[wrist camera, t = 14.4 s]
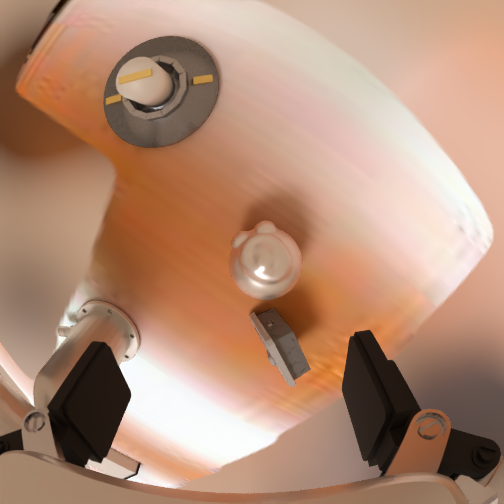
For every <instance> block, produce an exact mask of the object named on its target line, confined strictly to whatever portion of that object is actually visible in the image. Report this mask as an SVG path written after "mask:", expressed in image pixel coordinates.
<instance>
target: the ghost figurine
mask: <svg viewBox="0 0 504 504" xmlns="http://www.w3.org/2000/svg"><path fill="white" fill-rule="evenodd" d="M231 247H232V250H231V253H230V257H229V270H230V274H231V277H232V279H233V281H234V283H235V284H236V286H237V287H238V288H239V289H240V290H241V291H242V292H244V293H245V294H246V295H248V296H250V297H253V298H256V299H260V300H271V299H276V298H279V297H281V296H283V295H285V294H286V293H288V292H289V291H290V290H291V289H292V288H293V287H294V286H295V284H296V283H297V281H298V279H299V277H300V274H301V271H302V256H301V252H300V249H299V247H298V245H297V243H296V242H295V241H294V239H293V238H292V237H291V236H290V235H288V234H287V233H286V232H284V231H282V230H280V229H278V228H276V226H275V225H274V224H273V223H272V222H270V221H261V222H259V223H258V224H257V225H256V226H255V228H254V229H252V230H250V231H240V232H238V233H236V234H235V235H234V236H233V238H232V240H231Z"/></svg>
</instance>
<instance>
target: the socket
mask: <svg viewBox="0 0 504 504" xmlns="http://www.w3.org/2000/svg"><path fill="white" fill-rule="evenodd" d="M136 57H147V58H150V59H152V60H153V61H154V62H155V63H156V64H158V65H159V66H160V67H161V68H162V69H163V70H164V71H166V72H167V73H168V74H169V75H170V76H171V77H172V78H173V79H174V82H175V92H174V95H173V97H172V98H171V99H170V101H169V102H167V103H166V104H165V105H163V106H160V107H156V108H152V107H148V106H146V105H143V104H141V103H138V102H136V101H133V100H131V99H128V98H125V97H123V96H122V95H120V93H119V92H118V91H117V88H116V77H117V74H118V72H119V70H120V69H121V67H122V66H123V65H124V64H125V63H127V62H128V61H129V60H131V59H133V58H136ZM218 90H219V78H218V72H217V69H216V66H215V64H214V62H213V60H212V58H211V56H210V55H209V54H208V52H207V51H206V50H205V49H204V48H203V47H201V46H200V45H198V44H197V43H195V42H193V41H191V40H189V39H186V38H181V37H173V36H167V37H159V38H154V39H151V40H148V41H146V42H144V43H141V44H140V45H138V46H136V47H134V48H133V49H132V50H130V51H129V52H128V53H127V54H126V55H125V56H123V57H122V59H121V60H120V61H119V62H118V63H117V65H116V66H115V67H114V69H113V71H112V72H111V74H110V76H109V78H108V81H107V84H106V87H105V92H104V111H105V115H106V118H107V120H108V123H109V125H110V126H111V128H112V129H113V131H114V132H115V133H116V134H117V135H118V136H119V137H120V138H122V139H123V140H125V141H126V142H128V143H130V144H133V145H136V146H140V147H151V148H157V147H164V146H168V145H172V144H175V143H177V142H179V141H181V140H183V139H185V138H187V137H188V136H190V135H191V134H193V133H194V132H195V131H196V130H197V129H198V128H199V127H200V126H201V125H202V124H203V123H204V122H205V121H206V119H207V118H208V117H209V115H210V113H211V111H212V110H213V107H214V105H215V103H216V99H217V96H218Z"/></svg>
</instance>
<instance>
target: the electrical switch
mask: <svg viewBox="0 0 504 504" xmlns="http://www.w3.org/2000/svg"><path fill="white" fill-rule="evenodd" d="M249 316H250V319H251V321H252V323H253V325H254V327H255V329H256V331H257V332H258V334H259V336H260V338H261V340H262V342H263V344H264V345H265V347H266V349H267V354H268V358H269V361H270V363H271V364H272V365H275V364H276V366H277V368H278V369H279V371H280V373H281V374H282V376H283V377H284V379H285V381H286V382H287V383H288V384H289V386H290V387H292V386H294V385H296V383H295V381H294V380H295V379H296V378H298V377H300V376H301V375H302V374H304V373H306V372H307V371H309V370H311V369H310V367H309V365H308V363H307V360H306V358H305V356H304V354H303V352H302V350H301V347H300V345H299V343H298V341H297V339H296V337H295V334H294V332H293V331H292V329H291V328H290V327H289V326H288V325H287V323H286V322H285V321H284V320H283V319H282V317H281V316H280V315H279V314H278V313H277V311H276V310H275V309H274V308H272V309H270V310H269V311H267V312H264V313H262V314H260V315H257V316H256V315H255V313H254V312H253V313H251V314H250V315H249ZM291 331H292V332H291ZM290 332H291V333H290ZM288 333H289V334H288Z"/></svg>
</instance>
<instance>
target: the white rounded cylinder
mask: <svg viewBox="0 0 504 504" xmlns="http://www.w3.org/2000/svg"><path fill="white" fill-rule="evenodd" d="M116 88H117V91H118V92H119V93H120V95H122V96H123V97H125V98H128V99H131V100H133V101H136V102H138V103H141V104H143V105H146V106H148V107H152V108H156V107H160V106H163V105H165V104H166V103H167V102H169V101H170V99H171V98H172V97H173V95H174V92H175V82H174V79H173V78H172V77H171V76H170V75H169V74H168V73H167V72H166V71H164V70H163V69H162V68H161V67H160V66H159V65H158V64H156V63H155V62H154V61H153V60H152V59H150V58H147V57H136V58H133V59H131V60H129V61H128V62H127V63H125V64H124V65H123V66H122V67H121V69H120V70H119V72H118V74H117V77H116Z"/></svg>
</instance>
